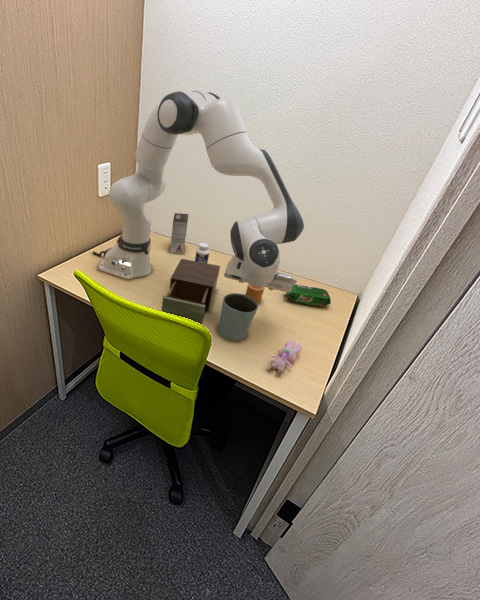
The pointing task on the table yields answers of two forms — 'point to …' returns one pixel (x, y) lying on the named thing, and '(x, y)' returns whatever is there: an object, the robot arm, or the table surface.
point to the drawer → (186, 301)
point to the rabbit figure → (286, 356)
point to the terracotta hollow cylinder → (255, 292)
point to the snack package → (309, 295)
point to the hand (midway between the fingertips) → (256, 284)
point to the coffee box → (178, 233)
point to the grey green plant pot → (236, 316)
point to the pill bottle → (202, 253)
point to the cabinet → (197, 276)
